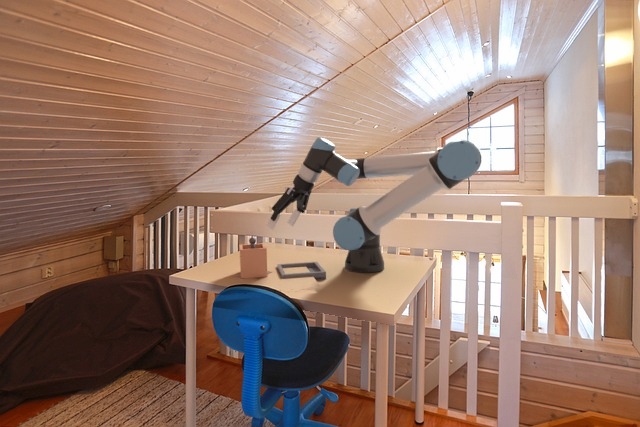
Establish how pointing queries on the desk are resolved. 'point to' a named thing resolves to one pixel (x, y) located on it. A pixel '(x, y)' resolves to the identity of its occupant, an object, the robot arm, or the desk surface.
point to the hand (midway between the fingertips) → (280, 225)
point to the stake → (252, 245)
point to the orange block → (253, 261)
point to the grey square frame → (312, 267)
